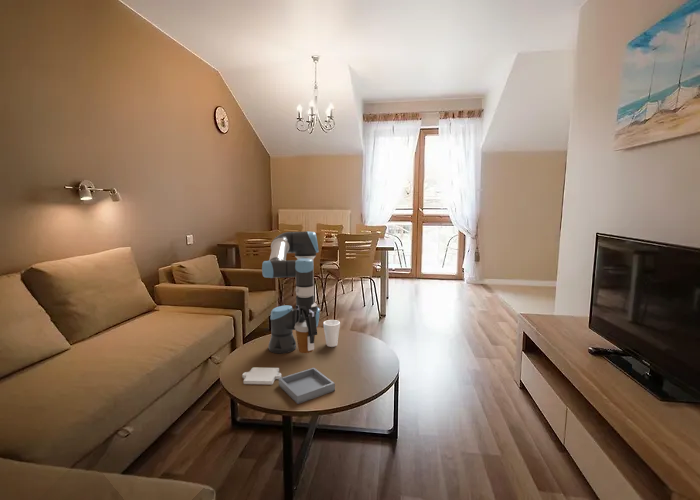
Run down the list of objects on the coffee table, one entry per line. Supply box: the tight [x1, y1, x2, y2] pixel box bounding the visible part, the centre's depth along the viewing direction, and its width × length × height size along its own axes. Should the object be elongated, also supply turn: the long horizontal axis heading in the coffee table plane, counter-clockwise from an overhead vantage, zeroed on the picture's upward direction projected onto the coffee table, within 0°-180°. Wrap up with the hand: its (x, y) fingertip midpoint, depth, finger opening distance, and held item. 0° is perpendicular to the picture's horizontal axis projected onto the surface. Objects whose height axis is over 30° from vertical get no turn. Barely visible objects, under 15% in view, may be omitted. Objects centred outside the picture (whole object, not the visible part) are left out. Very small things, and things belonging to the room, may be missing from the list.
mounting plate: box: [241, 366, 282, 385], centre depth 169 cm, size 18×13×2 cm
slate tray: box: [278, 367, 336, 405], centre depth 159 cm, size 18×18×4 cm
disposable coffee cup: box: [294, 321, 317, 354], centre depth 156 cm, size 10×10×12 cm
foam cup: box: [322, 319, 341, 348], centre depth 206 cm, size 10×9×13 cm
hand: (306, 346), depth 157 cm, fingers closed on disposable coffee cup, 8 cm apart
